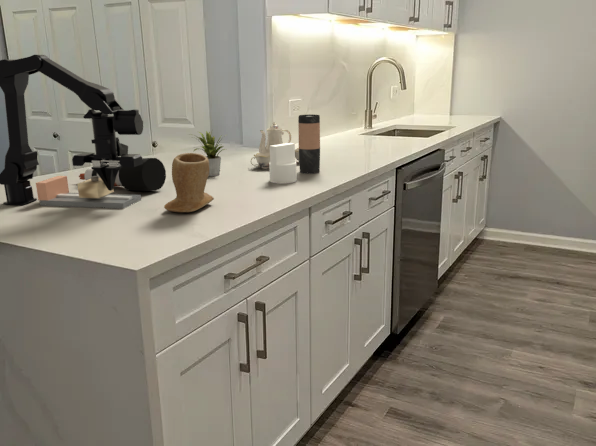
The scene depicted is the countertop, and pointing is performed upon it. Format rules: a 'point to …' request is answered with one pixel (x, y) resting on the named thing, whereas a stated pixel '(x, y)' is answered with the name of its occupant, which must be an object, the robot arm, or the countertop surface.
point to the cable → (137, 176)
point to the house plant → (211, 153)
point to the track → (77, 196)
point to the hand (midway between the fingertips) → (110, 190)
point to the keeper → (93, 188)
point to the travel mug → (309, 143)
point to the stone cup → (189, 183)
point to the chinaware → (273, 139)
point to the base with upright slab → (282, 163)
